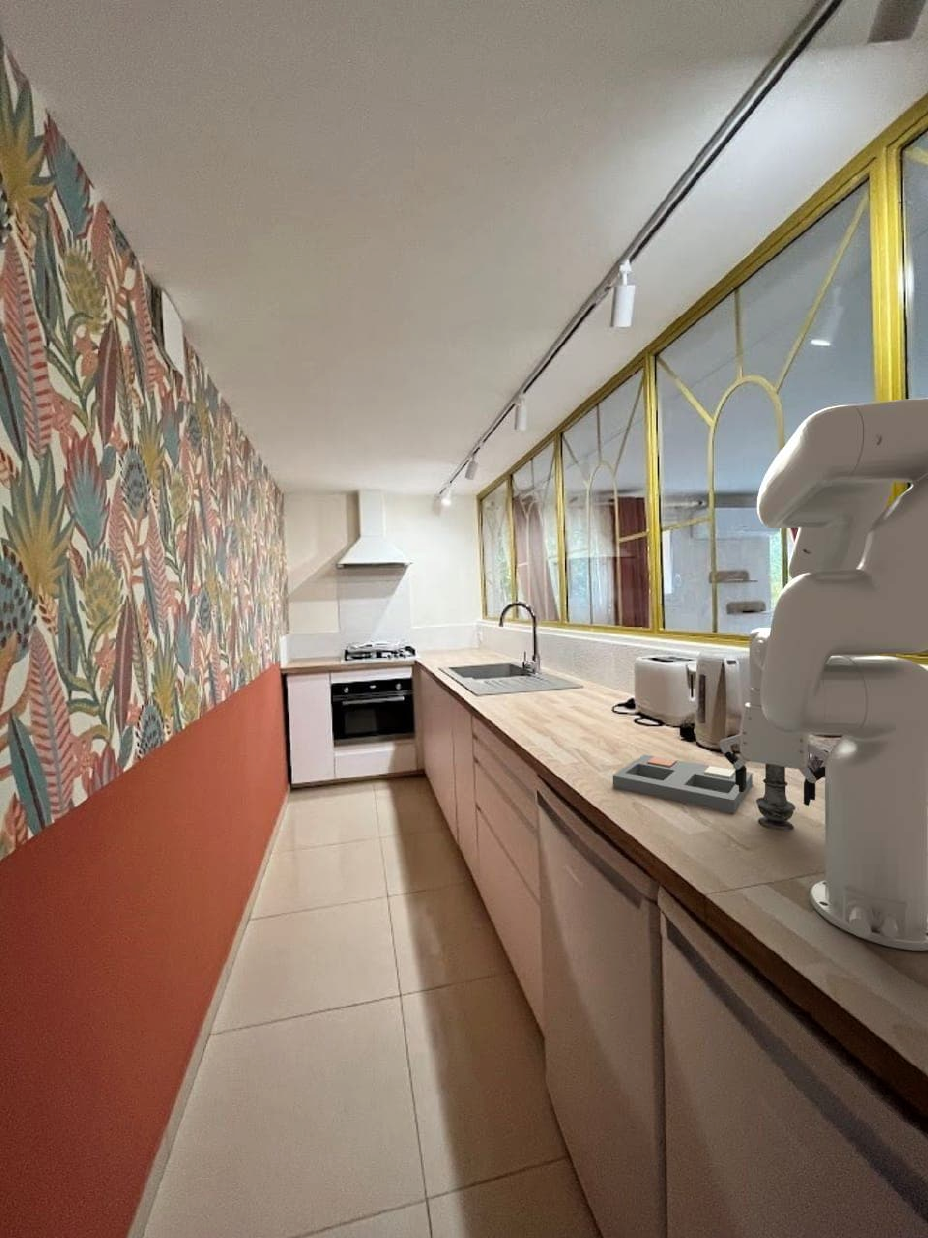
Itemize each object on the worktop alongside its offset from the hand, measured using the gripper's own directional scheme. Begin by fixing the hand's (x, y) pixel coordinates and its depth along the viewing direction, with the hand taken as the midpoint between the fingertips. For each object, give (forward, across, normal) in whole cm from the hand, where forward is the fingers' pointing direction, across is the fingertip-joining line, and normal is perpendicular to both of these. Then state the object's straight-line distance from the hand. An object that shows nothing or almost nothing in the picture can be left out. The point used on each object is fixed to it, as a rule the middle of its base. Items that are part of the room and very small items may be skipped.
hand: (773, 796), depth 86 cm
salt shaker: (+5, 0, 0) cm, 5 cm away
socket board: (+5, +18, -10) cm, 21 cm away
